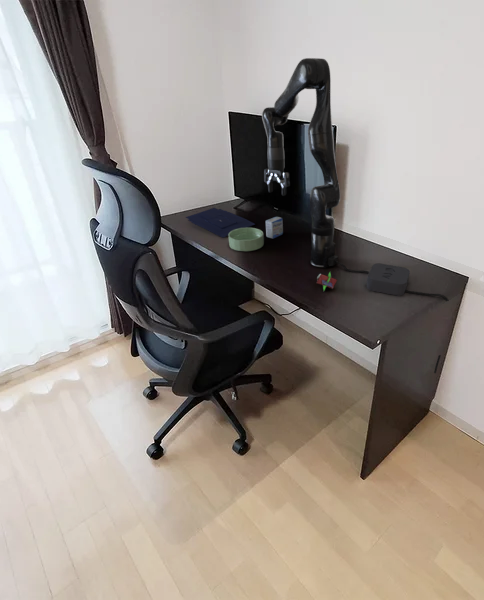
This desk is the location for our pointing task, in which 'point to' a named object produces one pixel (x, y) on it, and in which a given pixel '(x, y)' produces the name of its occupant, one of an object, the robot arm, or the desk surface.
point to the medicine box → (274, 227)
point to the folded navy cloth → (219, 221)
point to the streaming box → (388, 279)
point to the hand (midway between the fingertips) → (277, 193)
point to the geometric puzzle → (326, 281)
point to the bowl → (246, 239)
